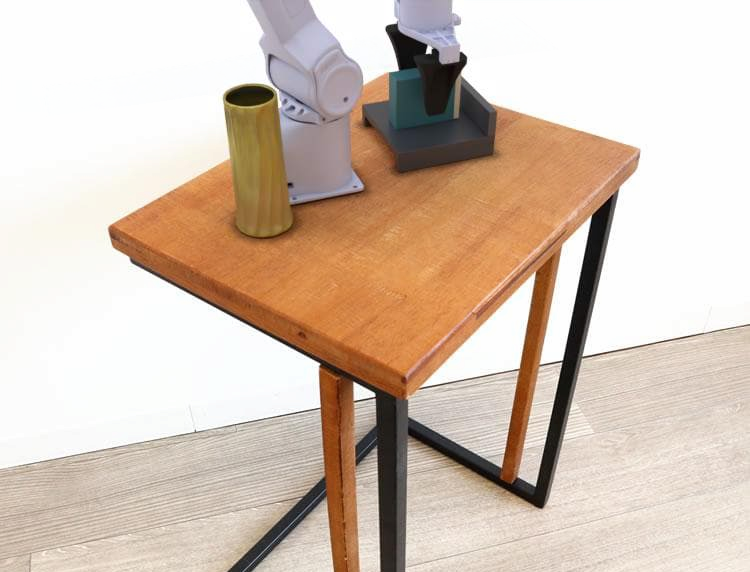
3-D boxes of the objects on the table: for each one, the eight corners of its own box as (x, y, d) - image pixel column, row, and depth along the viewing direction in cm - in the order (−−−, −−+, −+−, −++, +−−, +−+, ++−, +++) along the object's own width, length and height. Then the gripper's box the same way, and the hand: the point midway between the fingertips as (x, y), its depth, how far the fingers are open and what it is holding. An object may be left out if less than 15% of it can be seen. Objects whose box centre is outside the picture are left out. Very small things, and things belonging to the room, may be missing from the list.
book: (458, 118, 101) (461, 70, 97) (396, 130, 99) (396, 81, 95) (450, 109, 103) (452, 61, 99) (388, 120, 101) (388, 72, 97)
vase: (224, 228, 89) (204, 100, 79) (258, 201, 93) (242, 76, 83) (272, 244, 87) (257, 115, 77) (304, 215, 91) (294, 89, 81)
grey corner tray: (398, 173, 97) (399, 128, 93) (362, 123, 106) (361, 81, 102) (493, 154, 100) (497, 111, 96) (450, 107, 109) (452, 66, 105)
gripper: (490, -4, 86) (479, 121, 95) (435, -47, 96) (431, 70, 105) (426, 5, 84) (422, 131, 93) (377, -39, 94) (377, 78, 103)
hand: (423, 99), depth 99 cm, fingers open, 7 cm apart
